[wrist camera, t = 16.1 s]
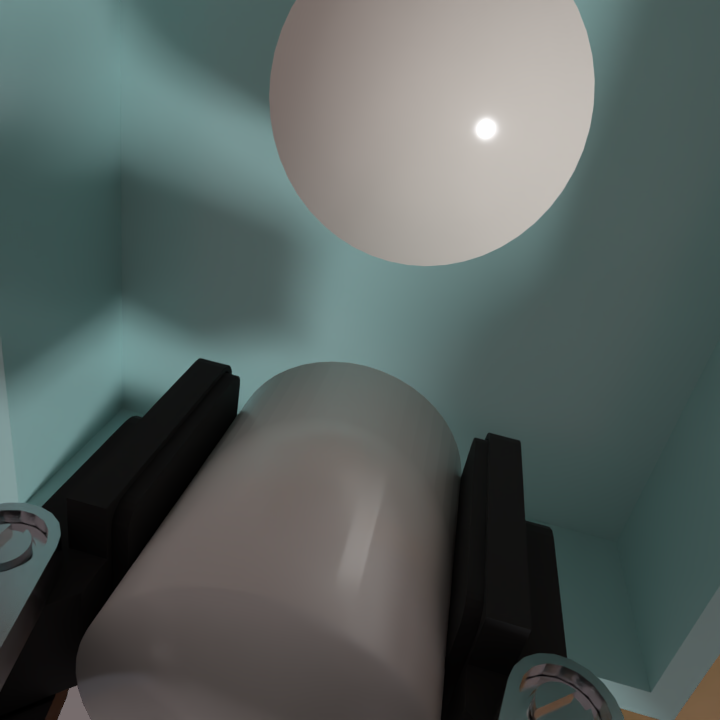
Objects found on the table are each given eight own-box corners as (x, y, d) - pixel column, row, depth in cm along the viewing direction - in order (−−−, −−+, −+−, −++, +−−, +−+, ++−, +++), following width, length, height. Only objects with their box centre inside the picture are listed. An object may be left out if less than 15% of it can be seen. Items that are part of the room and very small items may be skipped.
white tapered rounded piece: (369, -61, 12) (294, -120, 7) (593, -11, 11) (652, -41, 7) (330, 166, 14) (251, 225, 9) (519, 214, 13) (530, 297, 9)
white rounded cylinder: (244, 335, 11) (70, 538, 6) (490, 398, 10) (485, 660, 6) (225, 520, 13) (80, 774, 8) (430, 578, 12) (392, 875, 8)
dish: (100, -282, 12) (-143, -476, 7) (990, -136, 10) (1356, -264, 6) (110, 411, 19) (-7, 524, 15) (629, 552, 18) (671, 723, 13)
